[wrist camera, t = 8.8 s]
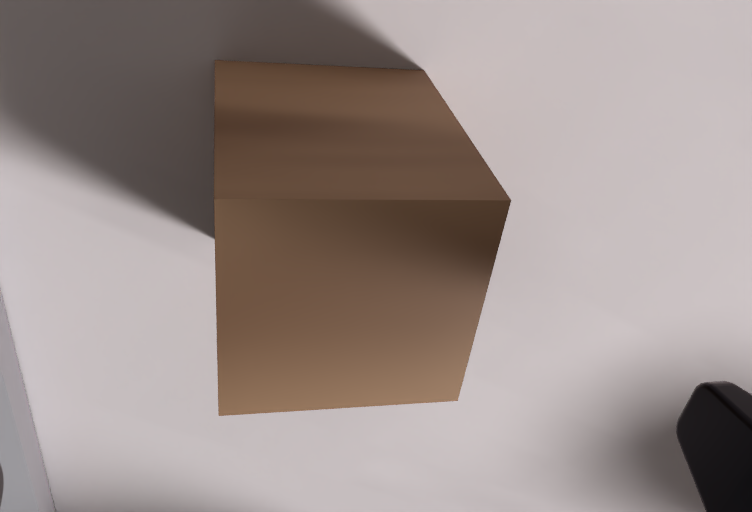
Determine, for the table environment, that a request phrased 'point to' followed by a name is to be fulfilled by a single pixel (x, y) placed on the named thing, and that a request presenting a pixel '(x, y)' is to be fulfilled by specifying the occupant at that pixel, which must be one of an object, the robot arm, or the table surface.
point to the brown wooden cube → (345, 238)
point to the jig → (18, 436)
